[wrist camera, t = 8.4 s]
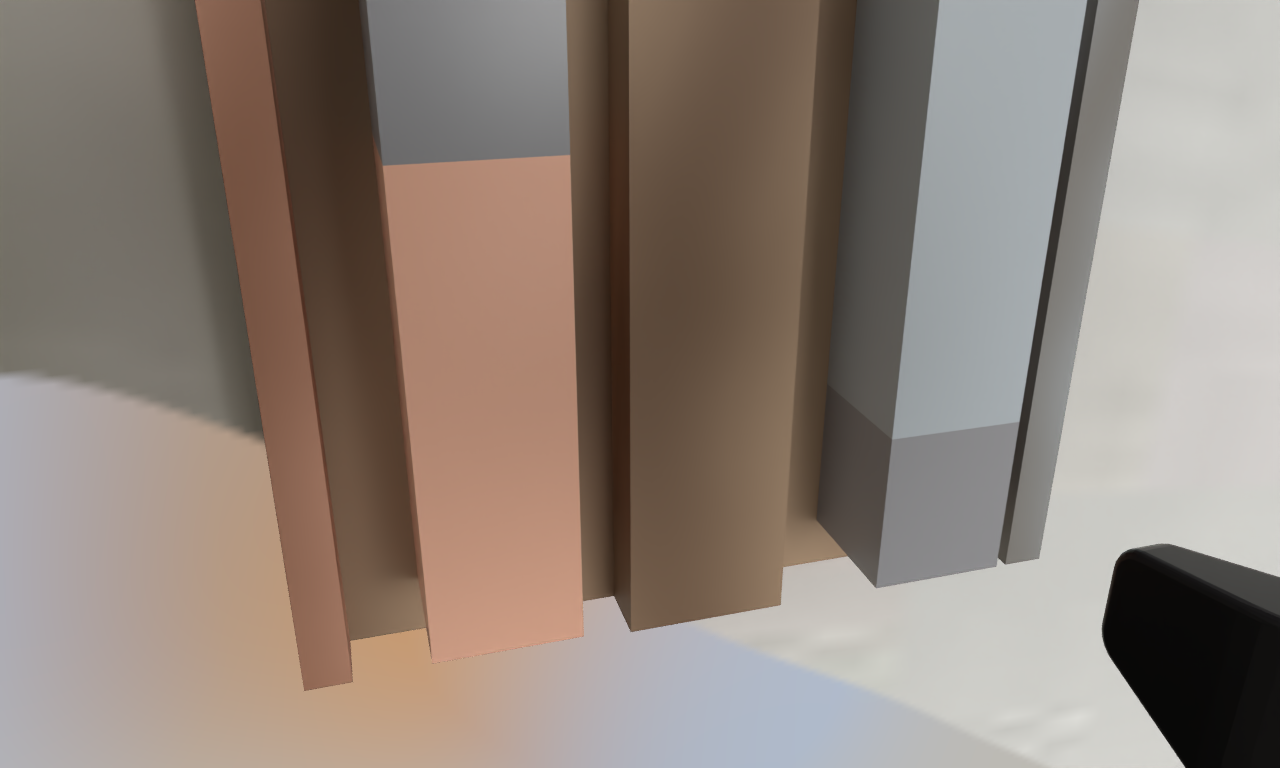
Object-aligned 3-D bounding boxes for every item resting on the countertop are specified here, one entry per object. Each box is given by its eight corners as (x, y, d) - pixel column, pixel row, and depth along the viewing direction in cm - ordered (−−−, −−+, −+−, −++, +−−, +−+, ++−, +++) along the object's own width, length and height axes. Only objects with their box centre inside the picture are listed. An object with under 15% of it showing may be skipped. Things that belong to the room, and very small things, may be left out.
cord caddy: (1088, -137, 18) (1164, -144, 16) (988, 516, 23) (1038, 558, 22) (183, -158, 14) (168, -169, 13) (304, 629, 19) (304, 690, 18)
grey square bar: (863, -74, 17) (948, -76, 14) (998, -74, 17) (1099, -76, 15) (816, 519, 21) (875, 588, 19) (926, 502, 22) (996, 566, 19)
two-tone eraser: (552, 557, 20) (583, 636, 17) (417, 579, 19) (433, 664, 17) (525, -83, 15) (563, -86, 13) (349, -84, 15) (357, -88, 12)
